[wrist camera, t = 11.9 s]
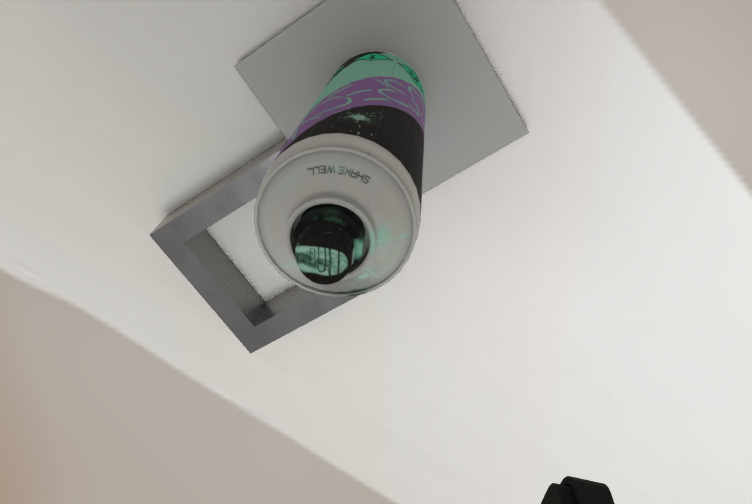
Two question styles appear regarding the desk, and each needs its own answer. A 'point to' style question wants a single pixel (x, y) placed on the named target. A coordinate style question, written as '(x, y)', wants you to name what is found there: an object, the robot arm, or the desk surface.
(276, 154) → the grey square frame
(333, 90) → the spray can
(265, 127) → the desk surface
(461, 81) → the mat
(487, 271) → the desk surface
